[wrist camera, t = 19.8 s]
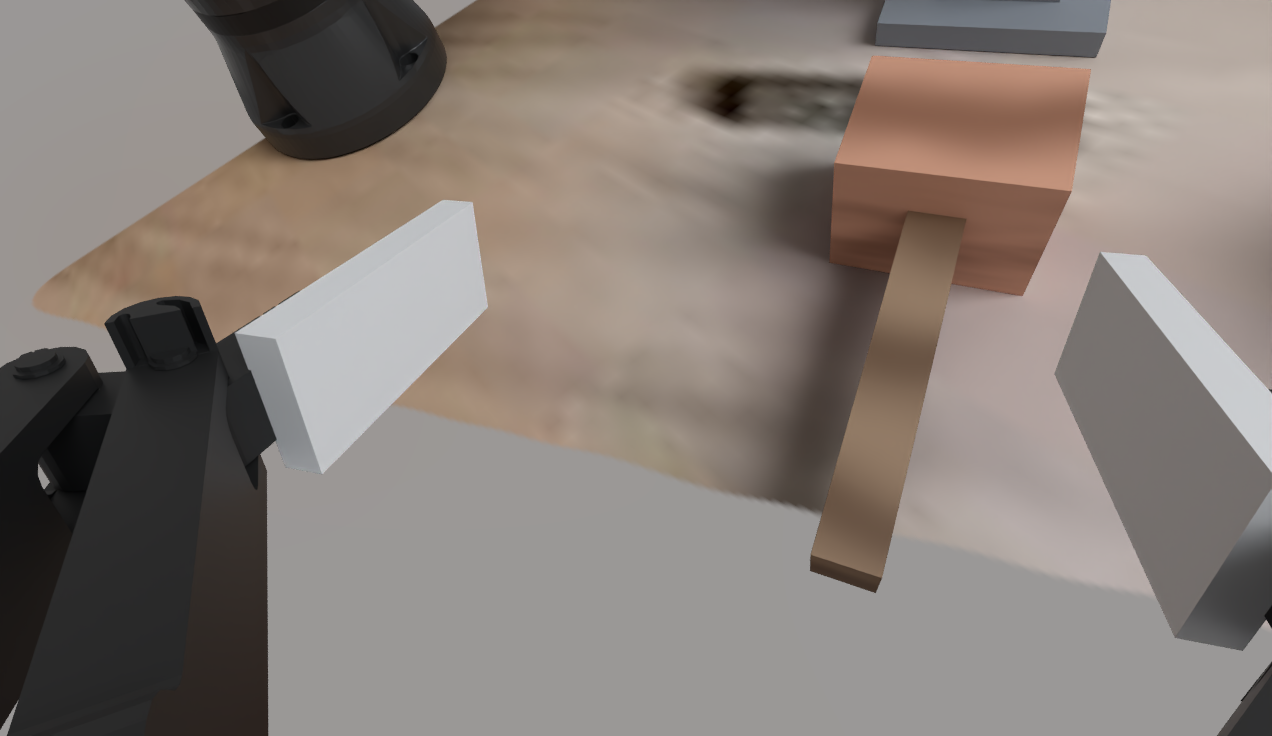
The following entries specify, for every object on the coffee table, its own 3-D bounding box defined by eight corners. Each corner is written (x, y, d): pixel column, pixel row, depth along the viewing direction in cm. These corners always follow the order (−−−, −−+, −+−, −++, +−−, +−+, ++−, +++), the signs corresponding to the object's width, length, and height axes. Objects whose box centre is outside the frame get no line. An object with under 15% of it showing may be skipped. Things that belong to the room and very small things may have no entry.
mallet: (960, 636, 26) (1007, 599, 20) (732, 557, 29) (713, 504, 23) (1042, 187, 35) (1090, 69, 29) (861, 165, 38) (872, 55, 32)
